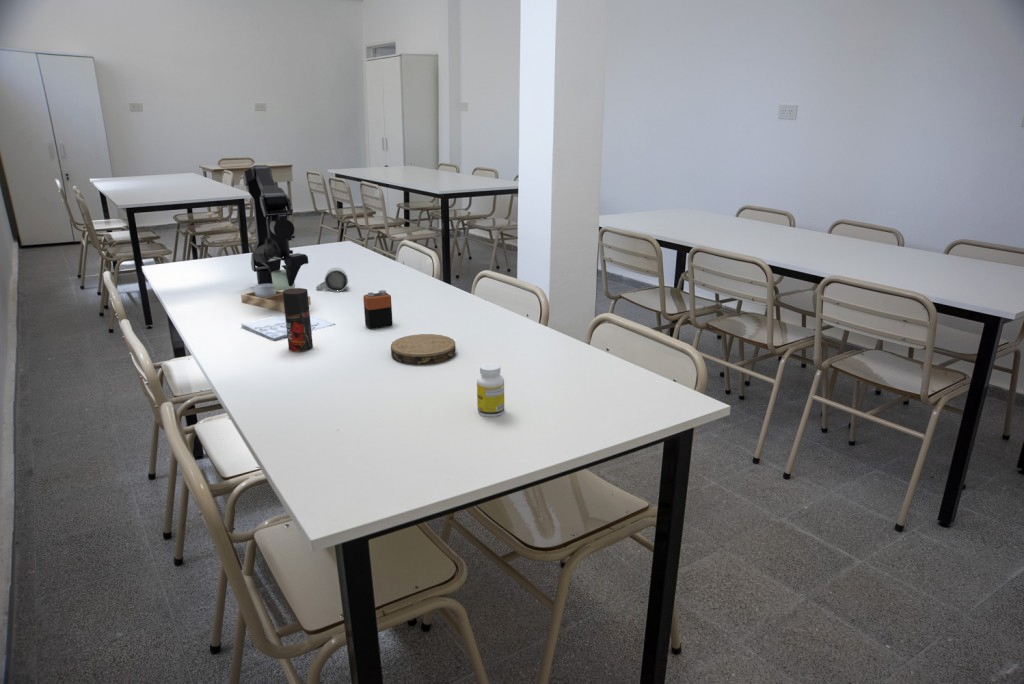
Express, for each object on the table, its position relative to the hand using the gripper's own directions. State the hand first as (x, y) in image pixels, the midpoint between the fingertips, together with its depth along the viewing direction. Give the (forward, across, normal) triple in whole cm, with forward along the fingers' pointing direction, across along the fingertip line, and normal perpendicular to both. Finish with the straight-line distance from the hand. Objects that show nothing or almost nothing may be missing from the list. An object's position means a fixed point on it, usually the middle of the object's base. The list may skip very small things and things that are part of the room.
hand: (283, 284), depth 205 cm
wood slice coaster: (+7, +64, -10) cm, 66 cm away
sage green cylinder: (+1, 0, 0) cm, 1 cm away
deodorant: (+7, +35, -24) cm, 43 cm away
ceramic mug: (+8, -5, +23) cm, 25 cm away
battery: (+7, +38, +2) cm, 39 cm away
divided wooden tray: (+7, -5, 0) cm, 8 cm away
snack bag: (+8, +17, -13) cm, 23 cm away
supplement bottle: (+7, +98, -28) cm, 103 cm away
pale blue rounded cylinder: (+7, -9, 0) cm, 12 cm away
